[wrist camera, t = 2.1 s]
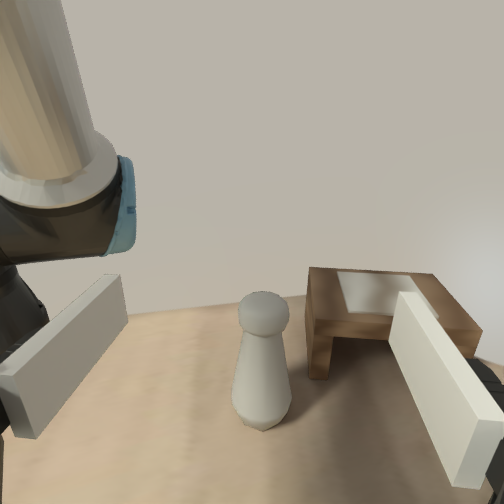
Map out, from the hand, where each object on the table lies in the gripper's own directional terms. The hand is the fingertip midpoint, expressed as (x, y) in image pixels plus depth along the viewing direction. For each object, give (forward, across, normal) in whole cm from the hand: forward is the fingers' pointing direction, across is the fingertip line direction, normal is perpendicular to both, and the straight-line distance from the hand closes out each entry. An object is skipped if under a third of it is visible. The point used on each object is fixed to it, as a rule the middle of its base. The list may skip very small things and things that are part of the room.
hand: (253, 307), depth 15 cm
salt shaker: (+10, 0, -19) cm, 21 cm away
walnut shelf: (+21, +13, -18) cm, 31 cm away
